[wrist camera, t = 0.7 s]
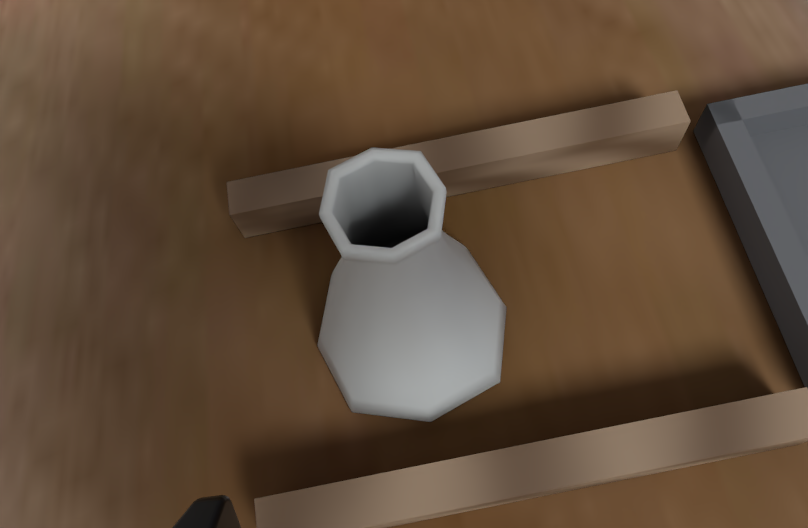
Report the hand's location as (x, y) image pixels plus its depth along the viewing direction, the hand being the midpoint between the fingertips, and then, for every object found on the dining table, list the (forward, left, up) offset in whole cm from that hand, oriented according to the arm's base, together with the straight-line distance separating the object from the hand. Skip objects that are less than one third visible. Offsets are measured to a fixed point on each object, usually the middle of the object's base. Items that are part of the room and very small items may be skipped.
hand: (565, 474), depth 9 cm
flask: (+6, +4, -15) cm, 17 cm away
